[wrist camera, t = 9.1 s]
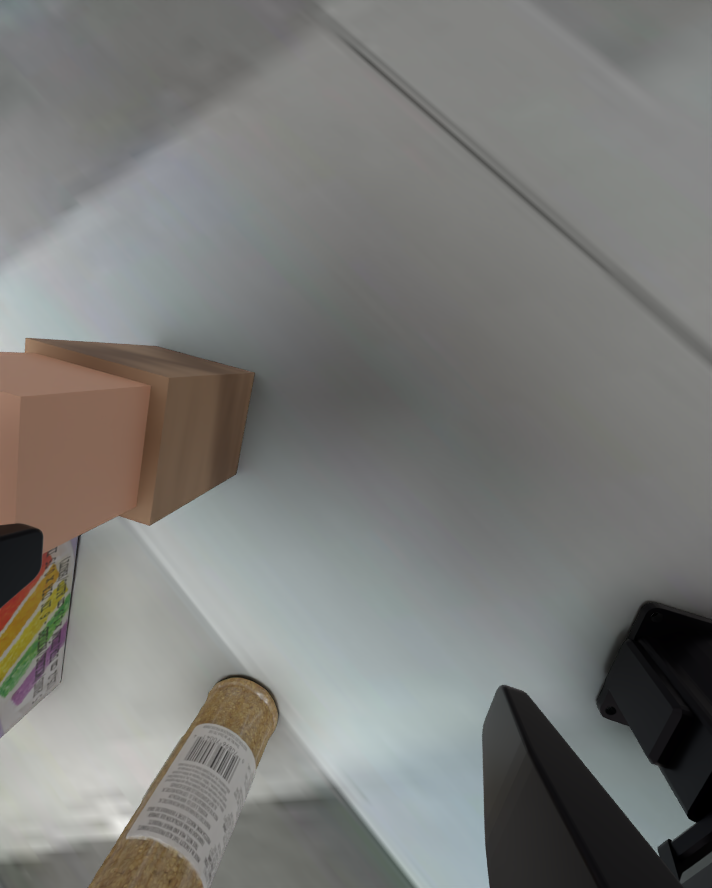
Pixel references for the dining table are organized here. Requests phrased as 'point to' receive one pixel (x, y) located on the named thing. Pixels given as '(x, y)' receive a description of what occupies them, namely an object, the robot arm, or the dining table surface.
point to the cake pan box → (35, 636)
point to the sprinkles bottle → (195, 795)
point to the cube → (67, 445)
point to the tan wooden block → (172, 417)
